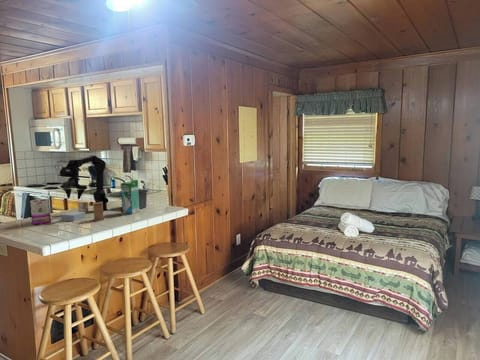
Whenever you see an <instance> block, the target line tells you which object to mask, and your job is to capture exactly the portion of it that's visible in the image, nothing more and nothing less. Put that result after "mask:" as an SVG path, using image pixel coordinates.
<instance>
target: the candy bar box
mask: <svg viewBox="0 0 480 360" xmlns="http://www.w3.org/2000/svg"><path fill="white" fill-rule="evenodd" d="M29 206H30V216H31V224H32V226H37V225H38V226H39V225H44V224H51V223H52V219H51V210H50V209H51V207H50V200H49V198H41V199H32V200H30V201H29Z"/></svg>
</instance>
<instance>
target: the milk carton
mask: <svg viewBox="0 0 480 360" xmlns="http://www.w3.org/2000/svg"><path fill="white" fill-rule="evenodd" d="M138 189H139V180H138V179H127V180H124V181H123V182H121V183H120V191H121V192H120V196H121V207H122V208H121V211H122V214H126V215H135V214H137V213H140V209H139V191H138Z"/></svg>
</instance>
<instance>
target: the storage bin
mask: <svg viewBox="0 0 480 360" xmlns="http://www.w3.org/2000/svg"><path fill="white" fill-rule="evenodd" d="M138 191H139V210H140V209H144V208H147V201H148V200H147V199H148V198H147V195H148V194H147V193H149V190H148V189H142V188H141V189H139V188H138ZM119 192H120V193H121V190H119Z"/></svg>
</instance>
